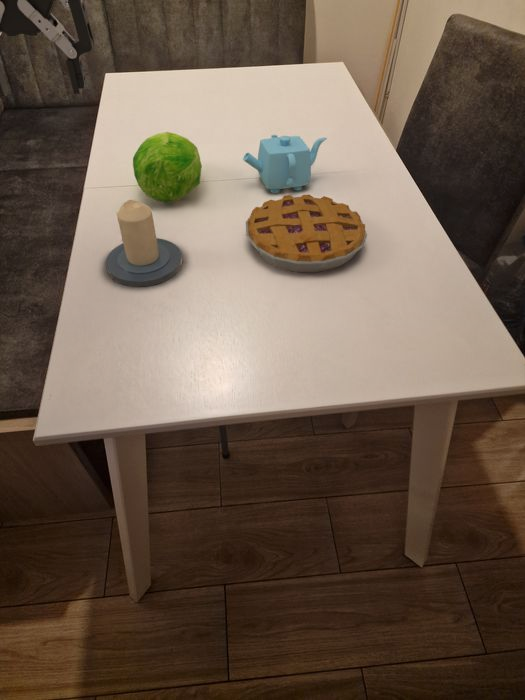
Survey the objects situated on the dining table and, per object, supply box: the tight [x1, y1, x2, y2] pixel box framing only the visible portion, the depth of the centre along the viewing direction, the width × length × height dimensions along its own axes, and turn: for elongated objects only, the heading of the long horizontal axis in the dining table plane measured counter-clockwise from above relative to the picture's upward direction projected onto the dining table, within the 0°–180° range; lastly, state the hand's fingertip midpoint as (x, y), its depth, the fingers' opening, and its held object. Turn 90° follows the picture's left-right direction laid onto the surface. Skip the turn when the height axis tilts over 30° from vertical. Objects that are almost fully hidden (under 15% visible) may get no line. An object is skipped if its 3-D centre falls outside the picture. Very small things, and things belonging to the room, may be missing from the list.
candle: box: [116, 199, 159, 266], centre depth 80 cm, size 6×6×10 cm
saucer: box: [105, 237, 183, 288], centre depth 84 cm, size 13×13×1 cm
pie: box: [245, 194, 368, 273], centre depth 88 cm, size 22×22×5 cm
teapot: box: [242, 134, 328, 194], centre depth 103 cm, size 18×14×10 cm
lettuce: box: [132, 131, 203, 204], centre depth 100 cm, size 14×20×12 cm
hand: (41, 93), depth 58 cm, fingers open, 8 cm apart
